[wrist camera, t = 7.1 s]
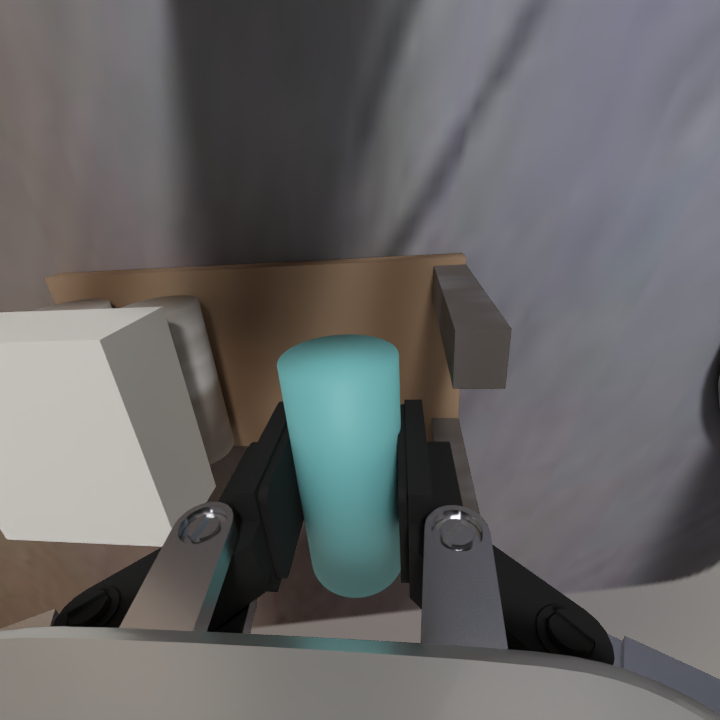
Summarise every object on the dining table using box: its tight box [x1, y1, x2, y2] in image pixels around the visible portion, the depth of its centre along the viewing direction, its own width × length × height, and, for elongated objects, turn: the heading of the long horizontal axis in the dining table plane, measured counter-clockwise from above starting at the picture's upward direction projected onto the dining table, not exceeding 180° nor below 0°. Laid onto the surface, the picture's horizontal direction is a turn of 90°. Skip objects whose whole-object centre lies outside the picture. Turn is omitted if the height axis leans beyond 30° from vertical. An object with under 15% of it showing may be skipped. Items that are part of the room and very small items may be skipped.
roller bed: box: [34, 253, 511, 515], centre depth 15 cm, size 18×9×8 cm, turn 94°
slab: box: [0, 307, 216, 547], centre depth 14 cm, size 7×8×3 cm
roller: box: [277, 334, 401, 598], centre depth 11 cm, size 7×3×3 cm, turn 4°
